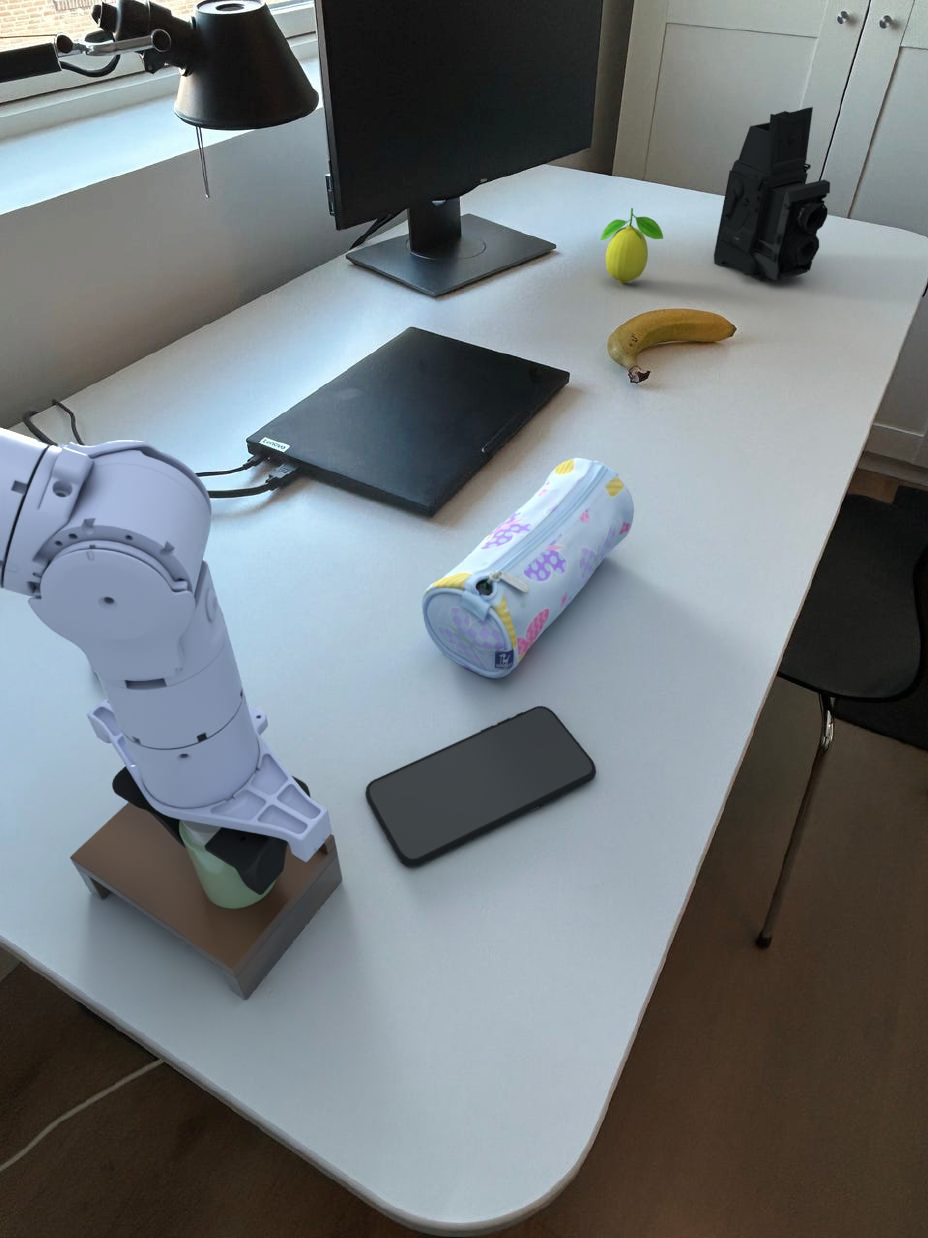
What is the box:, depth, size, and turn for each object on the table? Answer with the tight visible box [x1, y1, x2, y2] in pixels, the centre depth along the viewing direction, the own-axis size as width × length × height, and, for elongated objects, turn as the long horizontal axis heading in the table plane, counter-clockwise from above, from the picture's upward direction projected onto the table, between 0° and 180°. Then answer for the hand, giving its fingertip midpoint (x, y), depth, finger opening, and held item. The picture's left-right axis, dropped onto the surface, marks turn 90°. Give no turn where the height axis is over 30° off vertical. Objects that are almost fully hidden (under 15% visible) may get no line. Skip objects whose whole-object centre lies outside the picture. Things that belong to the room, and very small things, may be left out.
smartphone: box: [365, 705, 597, 868], centre depth 60 cm, size 7×1×15 cm
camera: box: [713, 106, 831, 282], centre depth 116 cm, size 10×14×20 cm
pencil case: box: [421, 457, 635, 679], centre depth 71 cm, size 21×9×10 cm, turn 145°
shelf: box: [69, 801, 343, 1001], centre depth 53 cm, size 9×13×5 cm
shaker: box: [179, 819, 277, 909], centre depth 49 cm, size 4×4×7 cm
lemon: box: [599, 207, 664, 285], centre depth 117 cm, size 7×6×10 cm
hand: (235, 858), depth 50 cm, fingers closed on shaker, 4 cm apart
